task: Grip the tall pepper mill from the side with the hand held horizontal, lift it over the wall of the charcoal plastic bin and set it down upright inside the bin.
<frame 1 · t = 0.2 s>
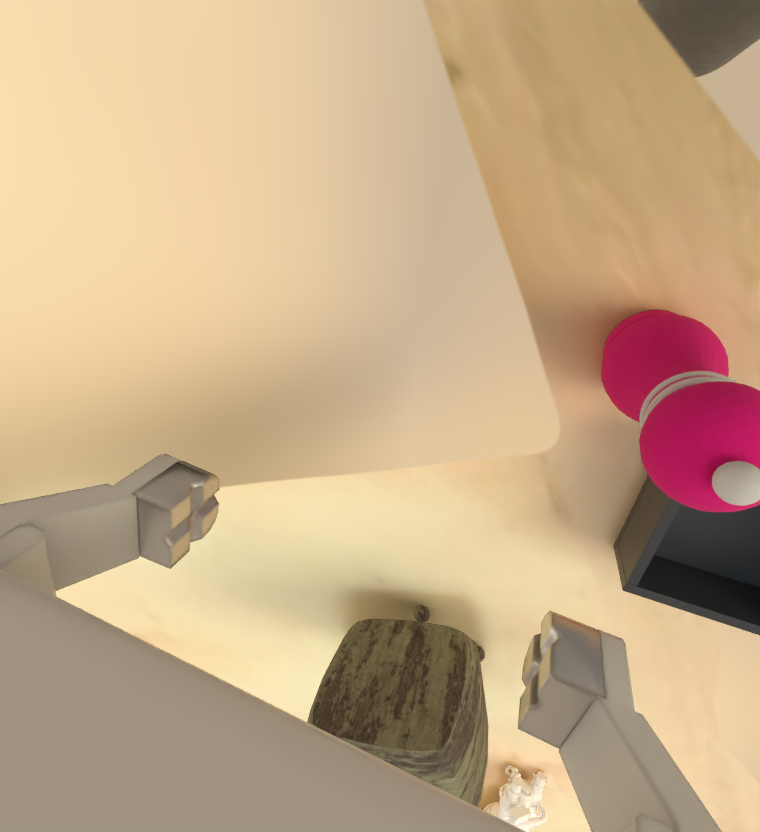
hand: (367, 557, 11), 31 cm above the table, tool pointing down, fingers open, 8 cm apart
pepper mill: (648, 351, 36), on the table
tabletop clock: (426, 621, 54), on the table
rocket engine: (516, 807, 61), on the table
bin: (724, 511, 39), on the table
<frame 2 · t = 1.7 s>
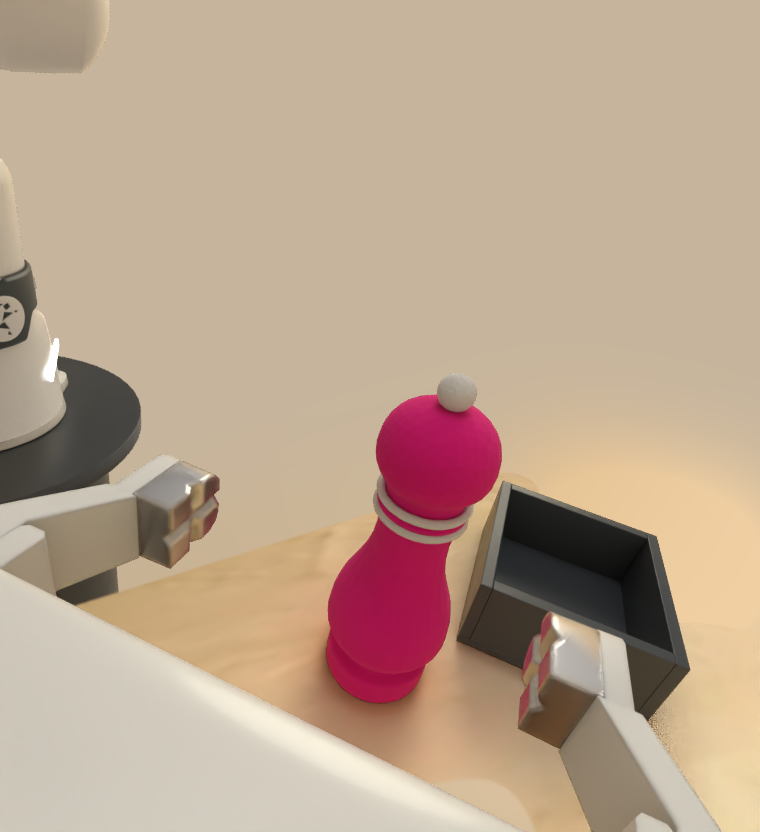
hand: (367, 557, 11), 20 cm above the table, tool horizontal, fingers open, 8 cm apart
pepper mill: (373, 657, 31), on the table
bin: (550, 609, 38), on the table
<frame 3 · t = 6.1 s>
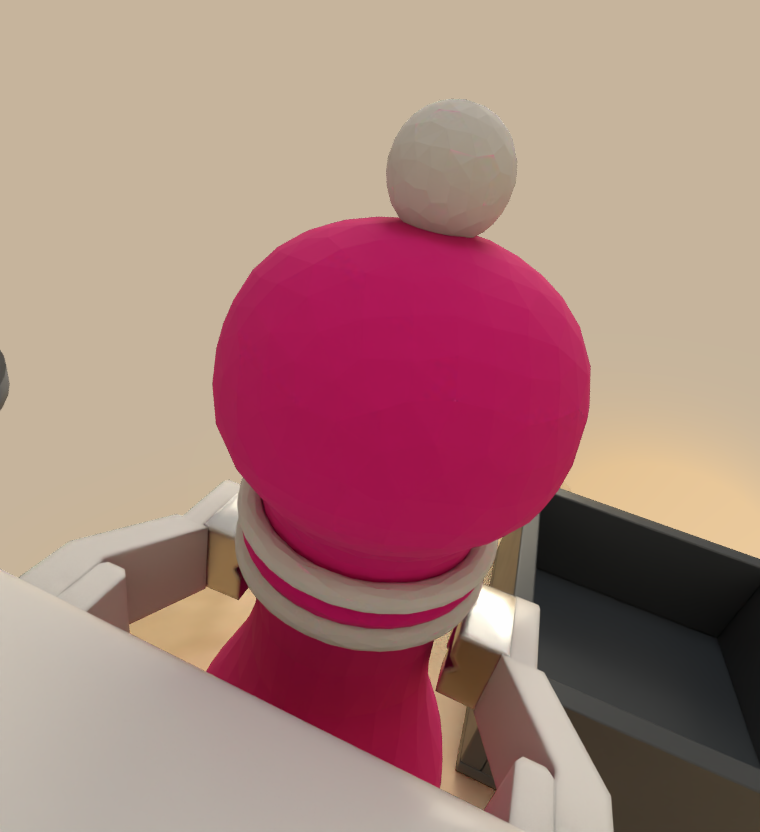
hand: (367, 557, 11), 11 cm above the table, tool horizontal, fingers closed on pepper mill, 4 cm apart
pepper mill: (294, 822, 16), on the table, touching gripper
bin: (613, 693, 22), on the table
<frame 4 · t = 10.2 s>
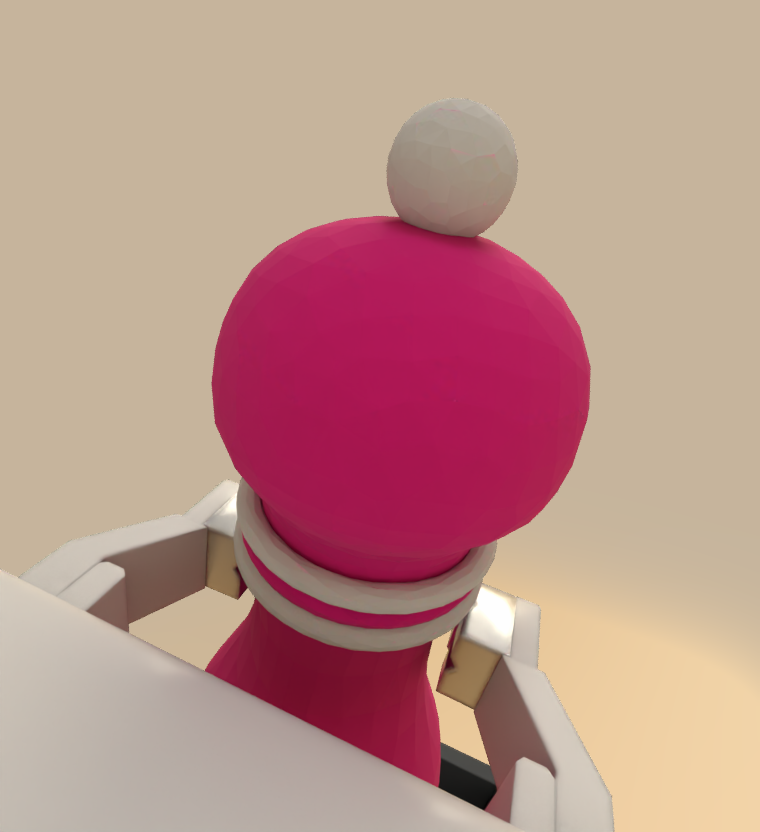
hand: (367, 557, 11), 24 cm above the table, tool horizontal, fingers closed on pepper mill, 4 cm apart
pepper mill: (292, 821, 16), point 13 cm above the table, touching gripper
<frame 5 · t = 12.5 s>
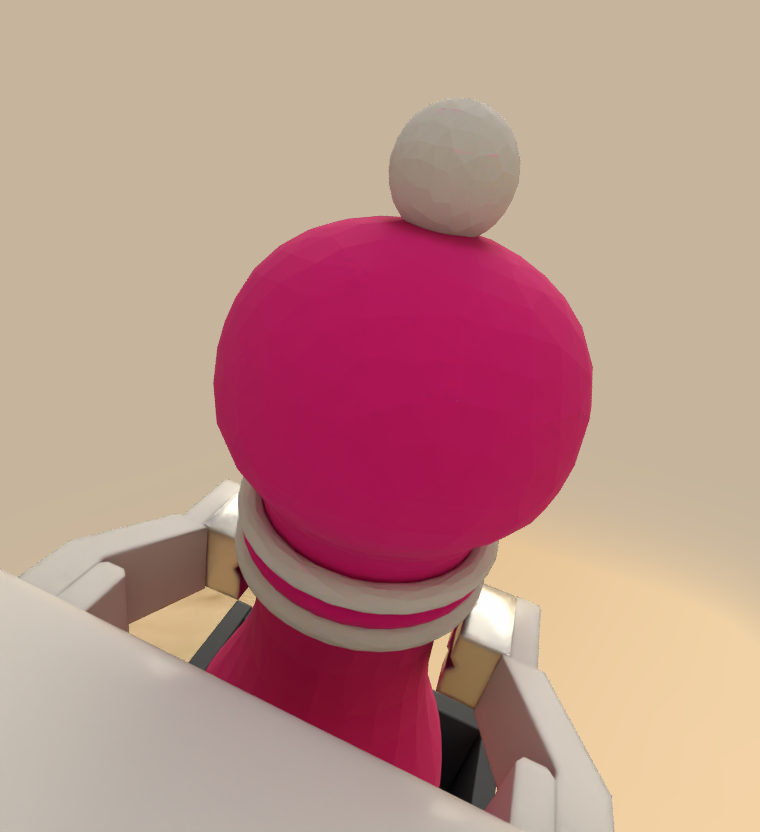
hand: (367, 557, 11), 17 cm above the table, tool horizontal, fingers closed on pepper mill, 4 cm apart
pepper mill: (292, 822, 16), point 5 cm above the table, touching gripper
when the fingers open (12 cm above the table, at t = 14.4 s): pepper mill stays where it is, resting on bin.
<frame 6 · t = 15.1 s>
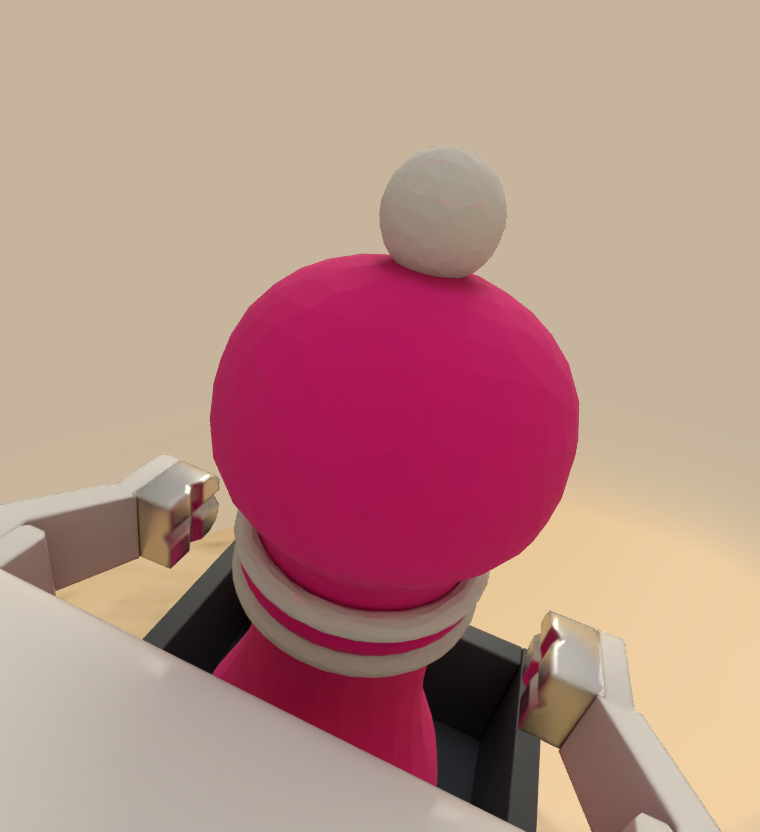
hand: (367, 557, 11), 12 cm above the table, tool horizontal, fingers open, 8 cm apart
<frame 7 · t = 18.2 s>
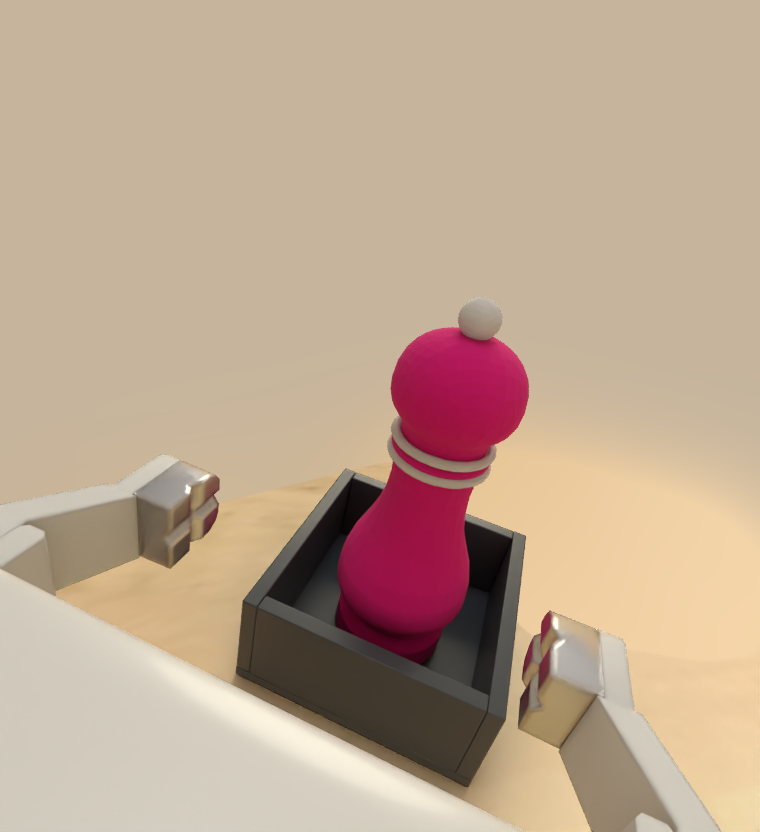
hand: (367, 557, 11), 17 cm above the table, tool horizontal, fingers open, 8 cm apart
pepper mill: (386, 626, 29), resting on bin
bin: (385, 629, 30), on the table
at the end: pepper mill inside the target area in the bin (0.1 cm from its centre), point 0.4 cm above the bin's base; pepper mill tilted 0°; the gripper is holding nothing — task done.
